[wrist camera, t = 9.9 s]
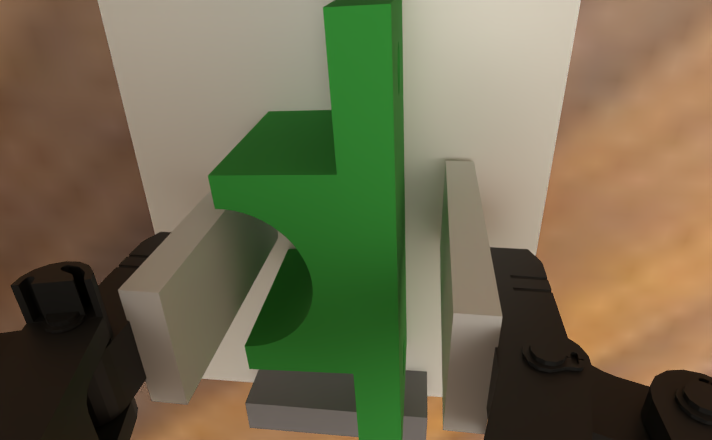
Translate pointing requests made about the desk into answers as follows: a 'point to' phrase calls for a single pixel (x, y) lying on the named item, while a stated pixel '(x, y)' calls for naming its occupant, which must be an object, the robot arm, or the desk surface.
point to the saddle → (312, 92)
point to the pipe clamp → (336, 218)
